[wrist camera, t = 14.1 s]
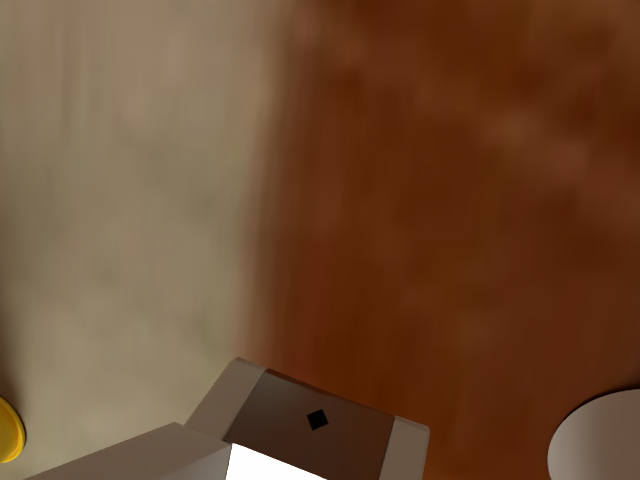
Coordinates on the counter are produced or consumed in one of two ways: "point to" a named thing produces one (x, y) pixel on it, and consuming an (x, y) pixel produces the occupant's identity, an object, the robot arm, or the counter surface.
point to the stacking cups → (10, 433)
